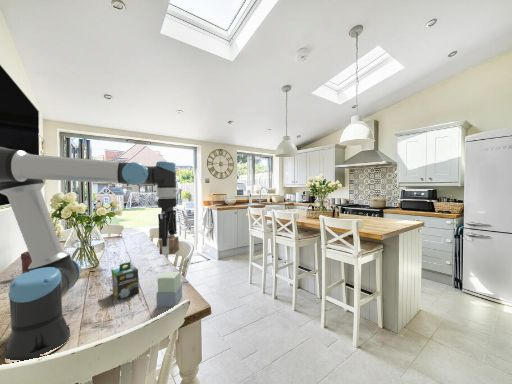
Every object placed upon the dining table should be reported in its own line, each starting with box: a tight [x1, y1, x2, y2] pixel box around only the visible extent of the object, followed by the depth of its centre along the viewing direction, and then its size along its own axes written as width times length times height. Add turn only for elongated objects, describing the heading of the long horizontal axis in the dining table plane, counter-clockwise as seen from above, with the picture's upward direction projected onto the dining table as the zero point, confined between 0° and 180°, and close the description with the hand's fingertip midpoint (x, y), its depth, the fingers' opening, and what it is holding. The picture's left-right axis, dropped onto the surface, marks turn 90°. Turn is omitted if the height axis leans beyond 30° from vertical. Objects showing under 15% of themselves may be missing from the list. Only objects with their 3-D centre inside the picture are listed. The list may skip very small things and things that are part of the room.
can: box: [20, 251, 32, 274], centre depth 128 cm, size 6×6×14 cm
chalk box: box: [111, 261, 140, 301], centre depth 107 cm, size 9×9×15 cm
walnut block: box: [158, 236, 180, 255], centre depth 98 cm, size 6×6×6 cm
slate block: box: [155, 284, 183, 308], centre depth 99 cm, size 8×8×6 cm
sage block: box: [157, 271, 182, 292], centre depth 98 cm, size 7×7×6 cm
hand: (168, 251), depth 98 cm, fingers closed on walnut block, 6 cm apart
